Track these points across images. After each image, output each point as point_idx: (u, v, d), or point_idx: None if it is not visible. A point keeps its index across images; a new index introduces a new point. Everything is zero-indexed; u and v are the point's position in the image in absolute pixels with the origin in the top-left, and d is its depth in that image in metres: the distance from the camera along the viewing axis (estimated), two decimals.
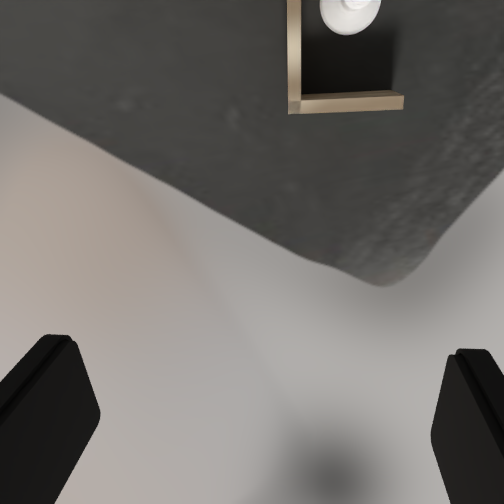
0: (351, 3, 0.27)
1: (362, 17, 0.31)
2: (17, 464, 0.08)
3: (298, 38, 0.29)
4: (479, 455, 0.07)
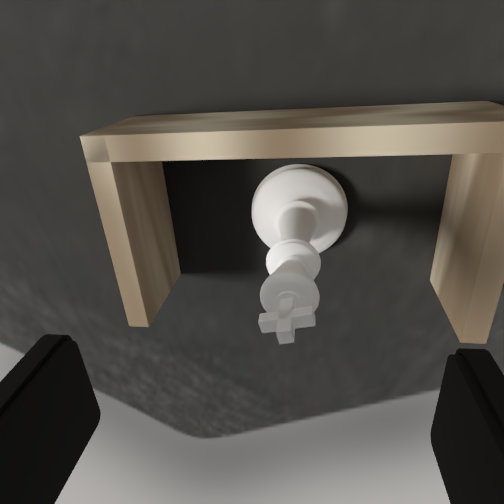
0: (274, 255, 0.15)
1: (272, 235, 0.20)
2: (17, 464, 0.08)
3: (220, 155, 0.14)
4: (479, 455, 0.07)
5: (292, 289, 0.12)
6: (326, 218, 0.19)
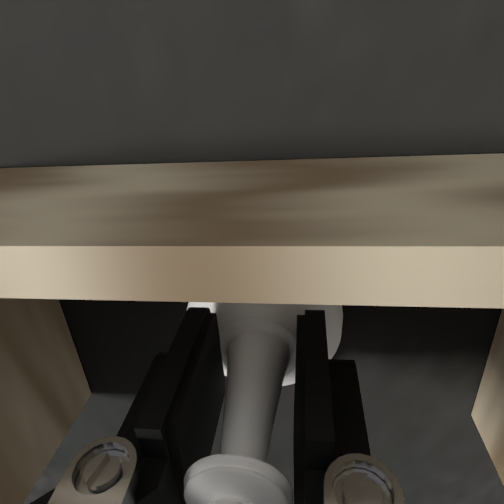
0: (195, 488, 0.07)
1: None
2: (195, 420, 0.08)
3: (67, 291, 0.06)
4: None
5: None
6: None
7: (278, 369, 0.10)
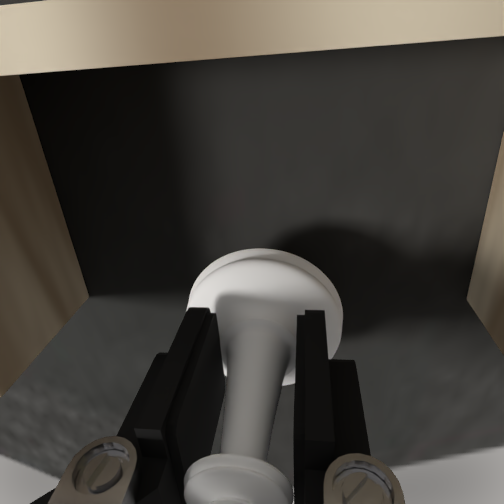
0: (196, 487, 0.07)
1: None
2: (195, 420, 0.08)
3: (58, 60, 0.06)
4: None
5: None
6: None
7: (278, 369, 0.10)
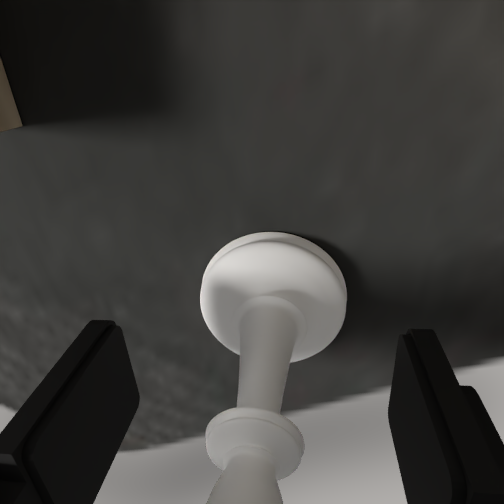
0: (217, 437, 0.08)
1: (232, 337, 0.13)
2: (76, 439, 0.08)
3: None
4: (417, 423, 0.08)
5: None
6: (314, 316, 0.12)
7: (288, 341, 0.11)
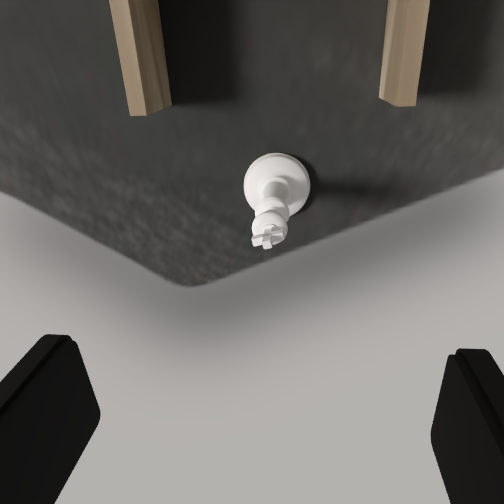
0: (260, 207, 0.23)
1: (258, 203, 0.28)
2: (17, 464, 0.08)
3: None
4: (479, 455, 0.07)
5: (271, 222, 0.21)
6: (295, 189, 0.27)
7: (283, 192, 0.26)
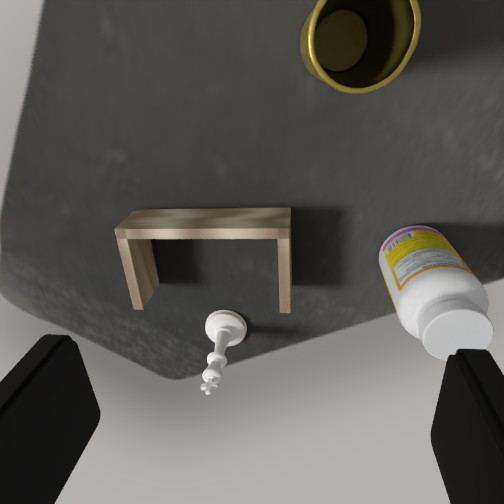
0: (209, 358, 0.40)
1: (214, 338, 0.45)
2: (17, 464, 0.08)
3: (172, 237, 0.35)
4: (479, 455, 0.07)
5: (212, 375, 0.38)
6: (236, 332, 0.44)
7: (227, 339, 0.43)
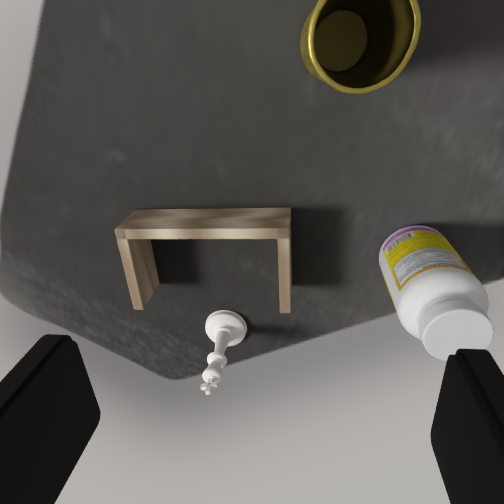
0: (209, 358, 0.40)
1: (214, 338, 0.45)
2: (17, 464, 0.08)
3: (172, 237, 0.35)
4: (479, 455, 0.07)
5: (212, 375, 0.38)
6: (236, 332, 0.44)
7: (227, 339, 0.43)
